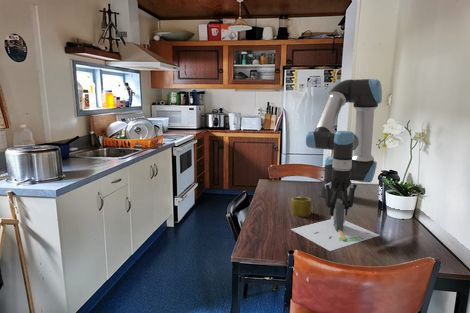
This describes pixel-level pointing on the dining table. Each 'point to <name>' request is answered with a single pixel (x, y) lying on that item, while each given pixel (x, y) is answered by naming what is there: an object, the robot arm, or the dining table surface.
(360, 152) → the robot arm
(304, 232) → the board
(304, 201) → the mug
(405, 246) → the dining table surface
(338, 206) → the gray bar
